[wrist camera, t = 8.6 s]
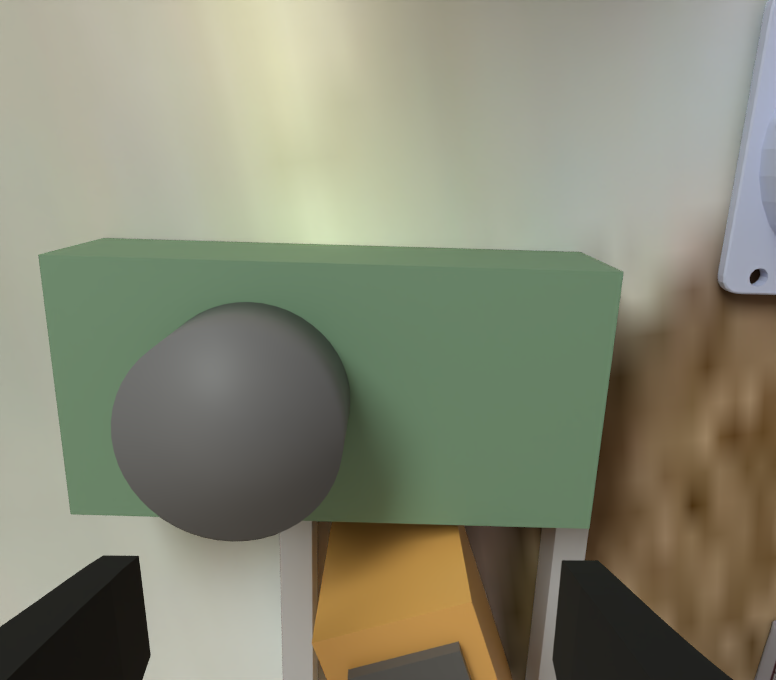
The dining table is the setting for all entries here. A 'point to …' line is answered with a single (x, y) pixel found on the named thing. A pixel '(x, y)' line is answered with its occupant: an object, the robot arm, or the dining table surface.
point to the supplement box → (768, 657)
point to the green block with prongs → (334, 396)
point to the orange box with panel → (404, 606)
